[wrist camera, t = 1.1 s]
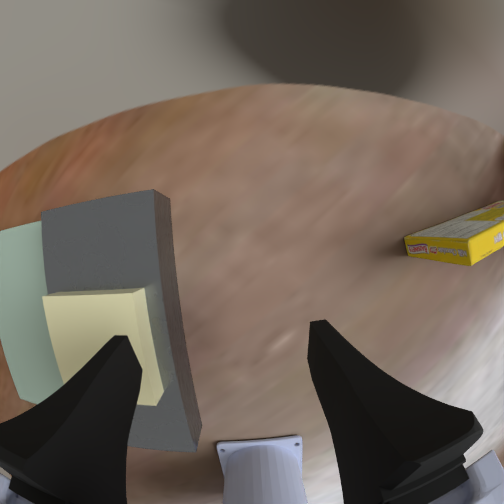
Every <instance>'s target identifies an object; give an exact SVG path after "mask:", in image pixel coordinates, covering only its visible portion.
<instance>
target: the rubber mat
mask: <svg viewBox="0 0 504 504" xmlns="http://www.w3.org/2000/svg"><path fill="white" fill-rule="evenodd" d="M45 295H48V293H47V286H46V278H45V270H44V260H43V247H42V227H41V221H38V222H34V223H30V224H26V225H22V226H18V227H14V228H10V229H6V230H2V231H0V339H1V343H2V346H3V350H4V353H5V357H6V360H7V363H8V366H9V369H10V372H11V375H12V378H13V381H14V384H15V386H16V389H17V392H18V394H19V397H20V399H23V400H26V401H29V402H32V403H35V404H39V403H40V402H42V401H43V400H45V399H46V398H48V397H49V396H50V395H52V394H53V393H54V392H56V391H57V390H58V389H59V388H60V387H62V386H63V385H64V383H63V380H62V377H61V374H60V371H59V368H58V364H57V361H56V357H55V354H54V350H53V346H52V342H51V338H50V334H49V330H48V325H47V321H46V316H45V311H44V305H43V299H42V296H45Z"/></svg>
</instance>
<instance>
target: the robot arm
mask: <svg viewBox="0 0 504 504" xmlns="http://www.w3.org/2000/svg"><path fill="white" fill-rule="evenodd" d="M307 359H308V364H309V368H310V373H311V377H312V381H313V384H314V386H315V389H316V392H317V395H318V397H319V400H320V403H321V406H322V408H323V411H324V414H325V417H326V419H327V422H328V425H329V428H330V431H331V435H332V439H333V444H334V448H335V453H336V458H337V463H338V468H339V473H340V479H341V485H342V492H343V500H344V504H504V469H503V467H502V465H501V463H500V461H499V459H498V457H497V455H496V454H495V452H494V450H491V451H489V452H488V453H487V454H485V455H484V456H483V457H481V458H480V459H478V460H477V461H476V462H474V463H473V464H471V465H470V466H469V467H467V468H466V469H465V468H464V466H463V463H465V462H466V459H465V457H464V455H463V454H464V453H465V452H466V451H467V450H468V449H469V448H470V447H471V446H472V445H473V444H474V443H475V442H476V441H477V440H478V439H479V438H480V437H481V435H482V434H483V428H482V427H481V425H480V423H479V422H478V420H477V418H476V417H475V415H474V414H473V412H472V411H468V410H465V409H461V408H458V407H454V406H451V405H448V404H445V403H442V402H440V401H437V400H435V399H432V398H430V397H428V396H425V395H423V394H421V393H419V392H417V391H415V390H413V389H411V388H409V387H408V386H406V385H404V384H402V383H401V382H399V381H397V380H396V379H394V378H393V377H391V376H390V375H388V374H387V373H385V372H384V371H382V370H381V369H380V368H378V367H377V366H376V365H375V364H373V363H372V362H371V361H369V360H368V359H367V358H366V357H365V356H364V355H362V354H361V353H360V352H359V351H358V350H357V349H356V348H354V347H353V346H352V345H351V344H350V343H349V342H348V341H347V340H346V339H345V338H344V337H343V336H342V335H341V334H340V333H339V332H338V331H337V330H336V329H335V328H334V327H333V326H332V325H331V324H330V323H329V322H328V321H327V320H319V321H312V322H310V330H309V344H308V357H307ZM142 371H143V369H142V367H141V365H140V363H139V361H138V359H137V356H136V354H135V352H134V350H133V347H132V345H131V343H130V340H129V338H128V336H127V335H114V336H113V337H112V338H111V339H110V340H109V341H108V342H107V343H106V344H105V345H104V346H103V347H102V348H101V349H100V350H99V351H98V352H97V353H96V354H95V355H94V356H93V357H92V358H91V359H90V360H89V361H88V362H87V363H86V364H85V365H84V366H83V367H82V368H81V369H80V370H79V371H78V372H77V373H76V374H75V375H74V376H73V377H72V378H70V379H69V380H68V381H67V382H66V383H65V384H64V385H63V386H62V387H60V388H59V389H58V390H57V391H56V392H54V393H53V394H52V395H50V396H49V397H48V398H46V399H45V400H43V401H42V402H40V403H39V404H37V405H36V406H34V407H33V408H31V409H30V410H28V411H26V412H24V413H22V414H21V415H19V416H17V417H15V418H13V419H10V420H8V421H6V422H3V423H0V467H2V468H3V469H4V470H6V471H7V472H8V473H9V474H11V475H12V478H11V480H10V479H8V478H7V477H6V476H4V475H3V474H1V473H0V504H127V498H126V456H127V445H128V438H129V433H130V429H131V425H132V420H133V417H134V413H135V409H136V405H137V401H138V397H139V393H140V387H141V380H142ZM295 443H298V444H295ZM221 449H224V450H221ZM217 451H218V455H219V459H220V463H221V467H222V471H223V475H224V479H225V480H224V492H223V504H308V501H307V497H306V493H305V489H304V485H303V481H302V438H301V436H299V435H296V436H289V437H281V438H272V439H262V440H249V441H229V442H218V443H217Z"/></svg>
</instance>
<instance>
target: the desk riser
mask: <svg viewBox="0 0 504 504" xmlns="http://www.w3.org/2000/svg"><path fill="white" fill-rule="evenodd" d="M41 227H42V247H43V260H44V270H45V278H46V286H47V293H48V295H49V294H52V293H56V292H72V291H95V290H115V289H132V288H144V289H145V296H146V303H147V309H148V316H149V322H150V328H151V333H152V339H153V344H154V349H155V354H156V359H157V364H158V368H159V373H160V377H161V381H162V385H163V389H164V393H163V394H162V396H161V398H160V400H159V402H158V404H157V406H151V405H138V404H137V405H136V409H135V413H134V417H133V420H132V425H131V429H130V433H129V438H128V445H127V446H131V447H138V448H145V449H154V450H164V451H178V452H196V450H197V446H198V441H199V437H200V433H201V428H202V422H201V418H200V414H199V409H198V405H197V400H196V395H195V391H194V386H193V381H192V375H191V370H190V365H189V359H188V354H187V348H186V342H185V335H184V329H183V322H182V316H181V309H180V301H179V293H178V285H177V277H176V268H175V258H174V247H173V236H172V223H171V208H170V198H168V197H166V196H164V195H163V194H161V193H159V192H157V191H156V190H154V189H152V190H146V191H140V192H134V193H128V194H122V195H117V196H111V197H106V198H101V199H96V200H91V201H86V202H82V203H77V204H72V205H68V206H64V207H59V208H55V209H51V210H47V211H43V212H41Z"/></svg>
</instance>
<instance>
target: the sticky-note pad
mask: <svg viewBox="0 0 504 504" xmlns="http://www.w3.org/2000/svg"><path fill="white" fill-rule="evenodd" d="M42 299H43V305H44V311H45V316H46V321H47V325H48V330H49V334H50V338H51V342H52V346H53V350H54V354H55V357H56V361H57V364H58V368H59V371H60V374H61V377H62V380H63V383H64V384H65V383H66V382H67V381H68V380H69V379H70V378H72V377H73V376H74V375H75V374H76V373H77V372H78V371H79V370H80V369H81V368H82V367H83V366H84V365H85V364H86V363H87V362H88V361H89V360H90V359H91V358H92V357H93V356H94V355H95V354H96V353H97V352H98V351H99V350H100V349H101V348H102V347H103V346H104V345H105V344H106V343H107V342H108V341H109V340H110V339H111V338H112V337H113V336H114V335H127V336H128V338H129V340H130V343H131V345H132V347H133V350H134V352H135V354H136V356H137V359H138V361H139V363H140V365H141V367H142V369H143V371H142V380H141V387H140V393H139V397H138V401H137V404H138V405H151V406H157V404H158V402H159V400H160V398H161V396H162V394H163V393H164V389H163V385H162V381H161V377H160V373H159V368H158V364H157V359H156V354H155V349H154V344H153V339H152V333H151V328H150V322H149V316H148V309H147V303H146V296H145V289H144V288H132V289H115V290H95V291H72V292H56V293H52V294H49V295H45V296H42Z"/></svg>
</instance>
